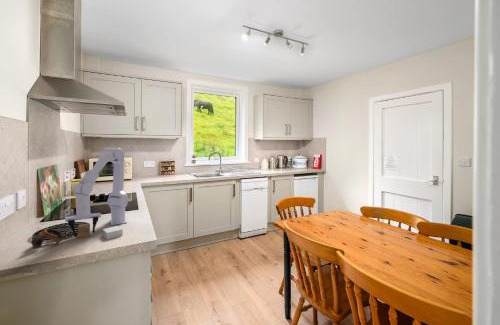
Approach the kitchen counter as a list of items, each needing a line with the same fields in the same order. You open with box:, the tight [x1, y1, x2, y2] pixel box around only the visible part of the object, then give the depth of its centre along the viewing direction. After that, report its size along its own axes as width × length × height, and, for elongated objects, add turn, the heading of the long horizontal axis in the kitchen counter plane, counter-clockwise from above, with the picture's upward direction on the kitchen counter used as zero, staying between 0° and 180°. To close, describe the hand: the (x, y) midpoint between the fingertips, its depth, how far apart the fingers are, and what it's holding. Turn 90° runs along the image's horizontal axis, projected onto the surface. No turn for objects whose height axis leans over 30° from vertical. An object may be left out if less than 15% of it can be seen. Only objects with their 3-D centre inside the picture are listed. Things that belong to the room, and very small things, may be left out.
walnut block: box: [77, 223, 91, 239], centre depth 118 cm, size 4×4×6 cm
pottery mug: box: [31, 228, 63, 250], centre depth 106 cm, size 12×10×8 cm
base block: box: [102, 225, 124, 240], centre depth 120 cm, size 7×7×4 cm
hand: (84, 233), depth 118 cm, fingers open, 7 cm apart
